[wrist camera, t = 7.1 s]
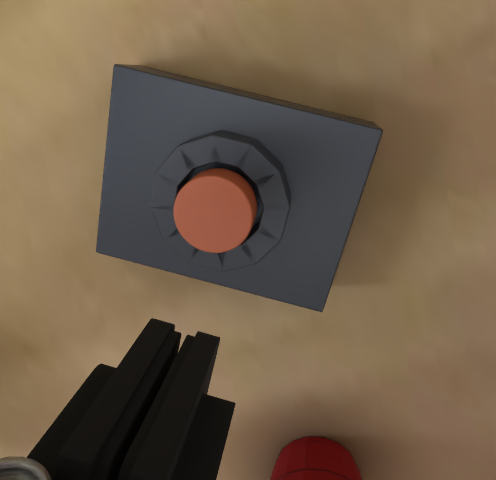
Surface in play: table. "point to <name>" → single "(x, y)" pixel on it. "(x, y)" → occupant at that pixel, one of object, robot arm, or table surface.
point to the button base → (242, 162)
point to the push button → (215, 210)
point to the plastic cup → (315, 461)
